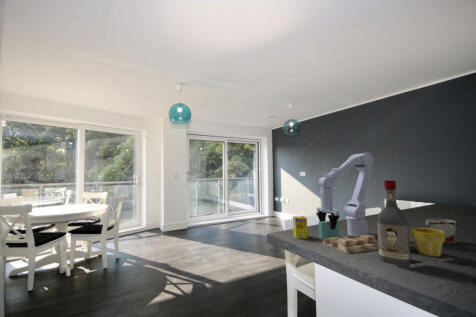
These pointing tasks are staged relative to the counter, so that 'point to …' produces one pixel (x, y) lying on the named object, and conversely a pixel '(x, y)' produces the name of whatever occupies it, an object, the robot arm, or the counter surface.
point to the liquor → (393, 230)
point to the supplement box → (300, 227)
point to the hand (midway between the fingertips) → (327, 227)
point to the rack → (354, 249)
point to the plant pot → (428, 240)
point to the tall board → (327, 230)
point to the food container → (443, 228)
